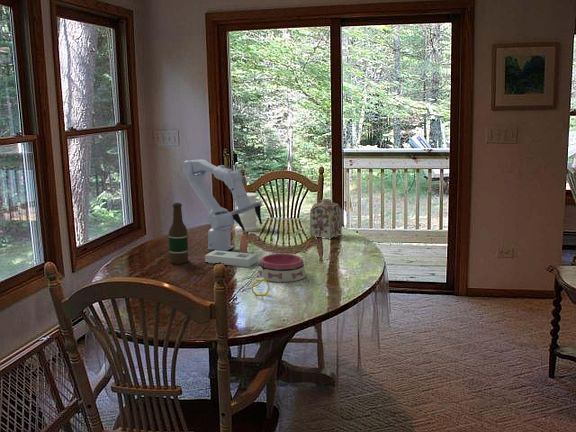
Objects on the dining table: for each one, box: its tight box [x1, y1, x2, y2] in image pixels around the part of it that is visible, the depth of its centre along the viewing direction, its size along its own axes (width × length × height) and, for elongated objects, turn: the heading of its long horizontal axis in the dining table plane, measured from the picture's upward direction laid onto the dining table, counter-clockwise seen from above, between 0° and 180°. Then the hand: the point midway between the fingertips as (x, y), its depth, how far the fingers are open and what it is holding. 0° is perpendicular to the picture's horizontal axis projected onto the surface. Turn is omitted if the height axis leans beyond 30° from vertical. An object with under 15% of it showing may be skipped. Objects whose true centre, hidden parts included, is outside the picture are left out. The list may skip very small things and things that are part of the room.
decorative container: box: [234, 192, 259, 233], centre depth 303 cm, size 12×12×18 cm
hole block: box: [204, 250, 258, 268], centre depth 243 cm, size 19×9×3 cm, turn 71°
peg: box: [239, 234, 248, 253], centre depth 251 cm, size 3×3×9 cm
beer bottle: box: [168, 202, 189, 265], centre depth 241 cm, size 8×8×24 cm
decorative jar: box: [309, 198, 343, 238], centre depth 288 cm, size 12×12×18 cm
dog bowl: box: [256, 253, 307, 284], centre depth 224 cm, size 18×19×7 cm
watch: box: [251, 277, 270, 297], centre depth 201 cm, size 6×3×6 cm, turn 95°
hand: (252, 227), depth 250 cm, fingers open, 7 cm apart
